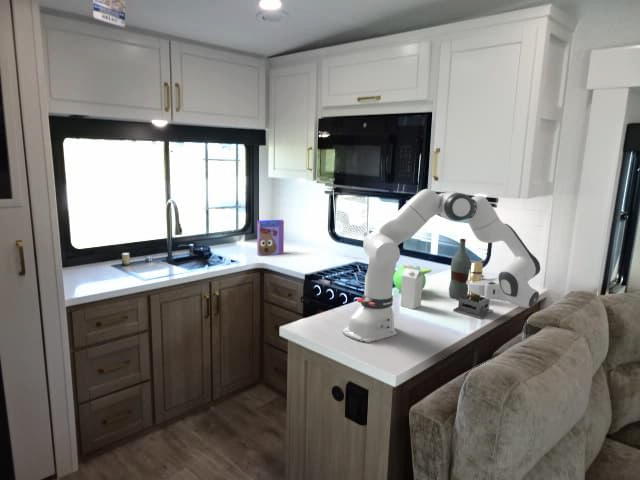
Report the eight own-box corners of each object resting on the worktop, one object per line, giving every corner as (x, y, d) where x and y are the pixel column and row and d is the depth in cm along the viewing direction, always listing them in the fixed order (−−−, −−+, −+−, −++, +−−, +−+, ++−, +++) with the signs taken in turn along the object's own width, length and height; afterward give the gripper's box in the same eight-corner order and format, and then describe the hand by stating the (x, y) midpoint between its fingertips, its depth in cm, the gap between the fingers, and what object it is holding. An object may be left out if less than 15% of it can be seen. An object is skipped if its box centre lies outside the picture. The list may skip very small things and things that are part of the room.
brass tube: (476, 312, 198) (479, 264, 194) (465, 309, 201) (468, 262, 197) (481, 309, 201) (485, 263, 197) (470, 306, 205) (474, 261, 201)
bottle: (454, 300, 216) (459, 241, 210) (444, 295, 225) (449, 237, 219) (471, 299, 219) (476, 240, 213) (460, 293, 227) (465, 237, 222)
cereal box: (259, 256, 300) (259, 221, 295) (257, 254, 304) (257, 220, 299) (283, 254, 306) (283, 220, 302) (281, 252, 311) (281, 219, 306)
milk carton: (407, 302, 213) (409, 264, 209) (420, 305, 208) (423, 266, 205) (400, 305, 207) (402, 267, 204) (413, 309, 203) (416, 269, 199)
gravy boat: (387, 288, 235) (389, 261, 232) (416, 286, 239) (418, 260, 236) (401, 298, 217) (403, 270, 215) (432, 296, 222) (434, 268, 219)
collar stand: (480, 319, 193) (481, 305, 191) (453, 311, 202) (454, 297, 200) (493, 312, 202) (494, 298, 200) (466, 304, 211) (467, 291, 209)
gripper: (516, 279, 193) (490, 271, 204) (485, 285, 182) (459, 276, 194) (515, 292, 194) (488, 284, 206) (484, 299, 183) (458, 290, 195)
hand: (474, 280), depth 200 cm, fingers open, 8 cm apart
